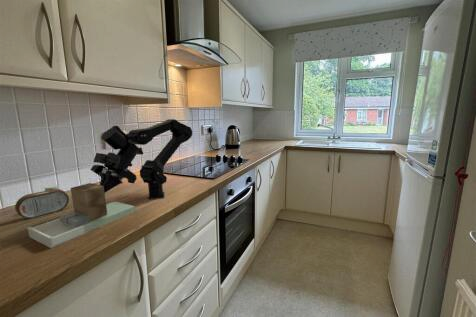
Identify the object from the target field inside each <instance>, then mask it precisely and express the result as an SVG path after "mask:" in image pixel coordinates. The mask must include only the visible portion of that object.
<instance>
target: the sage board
mask: <svg viewBox="0 0 476 317" xmlns="http://www.w3.org/2000/svg"><path fill="white" fill-rule="evenodd" d="M106 207H107V214H108V215H106V216H103V217H100V218H98V219H95V220H93V221H90V222H89V223H86V224H84V225H81V226H84V233H85V234H86V233H88V232H91V231H93V230H95V229H98V228H99V227H102V226H105V225H107V224H110V223H111V222H115V221H116V220H118V219H121V218H123V217H126V216H128V215H130V214H133V213H135V212H136V206H135V205H131V204H127V203H123V202H119V201H116V200H115V201H112V202H109V203H106ZM63 225H66V226H68V227H71V228H73V229H75V227H73V226H70V225H69V224H65V223H63ZM79 227H80V226H79ZM76 228H78V227H76Z"/></svg>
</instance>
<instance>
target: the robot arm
mask: <svg viewBox="0 0 476 317" xmlns="http://www.w3.org/2000/svg"><path fill="white" fill-rule="evenodd" d="M168 131H170V133H171V138H170V140H169V141H168V142H167V143H166V144H165V146H164V147H163V148H162V149H161V151H159V153H158V155H156V157H155V158H154V159H152V160H149V159H147V160H145V161H144V164H142V165H141V166H140V170H139V176H140V178H141V179H142V181H143V183H146V184H147V185H148V196H147V200H155V199H162V198H163V199H164V198H165V192H164V188H163V184H165V183H167V179H168V178H167V176H166V175H165V174H164V170H165V165H166V164H167V163H168V162H169V160H170V159H171V157H172V156H173V155H174V154H175V152H176V151H177V150H178V148H179V147H180V146H181V145H182V144H183V143H185V142H188V141H189V140H190V139H191V138H192V136H193V130H192V128H191V127H190V126H188V125H186V124H185V123H182V122H180V121H178V120H177V119H174V118H173V119H172V118H170V119H169V118H168V119H166V120H164V121H162V122H161V121H160V122H159V123H157V124H154V125H152V126H149V127H146V128H144V127H143V128H137V129H131V130H129V132H128V133H125V132H124V131H123V130H122V129H121V128H120V127H119V126H118V125H113V126H112V127H111V128H109V129H107V130H106V131H104V132H103V133H102V134H101V138H100V139H101V140H102V141H104V143H106V145H108V146H110V147H111V148H112V149H113V150H118V152H117V153H114V152H108V153H107V154H106V153H102V152H101V153H100V152H95V156H94V158H93V163H95V164H93V165H92V167H91V168H90V169H89V170H90V171H92V172H93V173H95V174H96V175H98V176H99V177H100V182H99V185H102V186H104V193H105V194H106V193H107V192H109V191H110V190H112V189H113V188H115V187H117V186H119V185H122V184H124V183H123V181H122V180H124V179H126V180H127V183H129V184H132V185H133V184H135V182H136V181H137V179H138V178H137V175H136V174H135V173H134V172H132V170H130V169H128V168H129V167H132V166H133V164H134V163H132V162H133V161H134V159H135V158H136V156H137V155H144V152H143V147H139V146H140V145H141V146H144V145H147V144H149V143H150V142H151V141H153V139H154V138H155V137H156V136H160V135H162V134H164V133H166V132H168ZM137 145H138V146H137ZM96 163H98V164H96Z"/></svg>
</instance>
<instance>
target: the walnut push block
mask: <svg viewBox="0 0 476 317" xmlns="http://www.w3.org/2000/svg"><path fill="white" fill-rule="evenodd" d="M70 193H71V198H72V206H73V211H75V212H78V213H80V214H84V215H87V216H89V222H90V221H93V220H95V219H98V218H100V217H103V216H106V215H108V214H107V207H106V204H107V201H106V195H105V194H106V192H105V193H104V186H102V185H100V184H96V183H91V182H89V183H88V182H87V183H85V184H81V185H78V186H72V187H70Z"/></svg>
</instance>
